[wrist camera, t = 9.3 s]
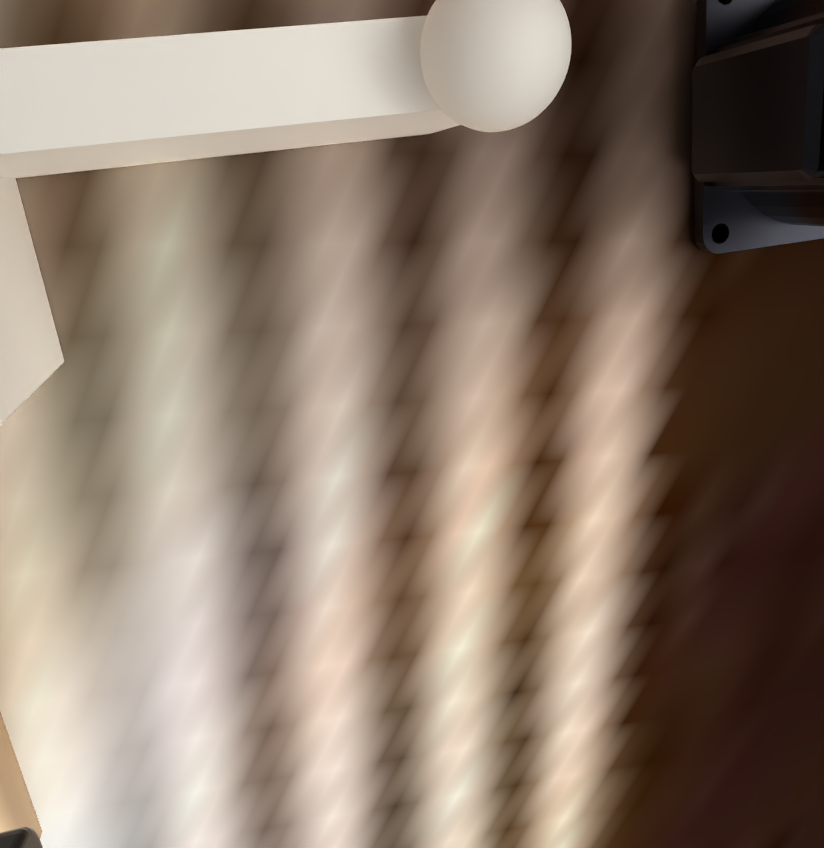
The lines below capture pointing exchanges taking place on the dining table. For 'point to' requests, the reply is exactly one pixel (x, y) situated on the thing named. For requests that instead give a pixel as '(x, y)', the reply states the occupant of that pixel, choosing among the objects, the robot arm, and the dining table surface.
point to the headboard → (248, 113)
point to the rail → (13, 790)
